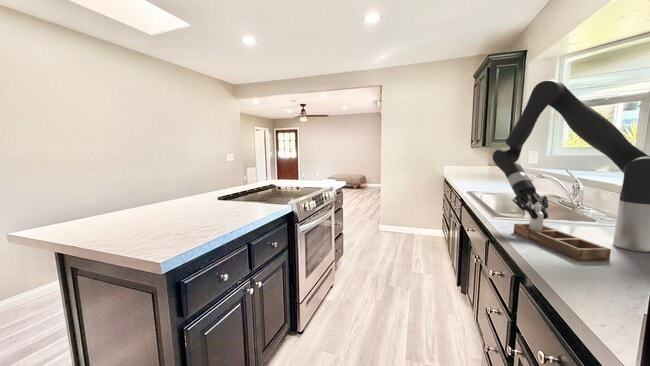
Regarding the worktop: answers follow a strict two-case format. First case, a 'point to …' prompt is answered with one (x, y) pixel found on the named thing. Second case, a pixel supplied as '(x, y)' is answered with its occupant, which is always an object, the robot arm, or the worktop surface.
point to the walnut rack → (564, 243)
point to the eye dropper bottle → (538, 222)
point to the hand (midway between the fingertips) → (540, 218)
